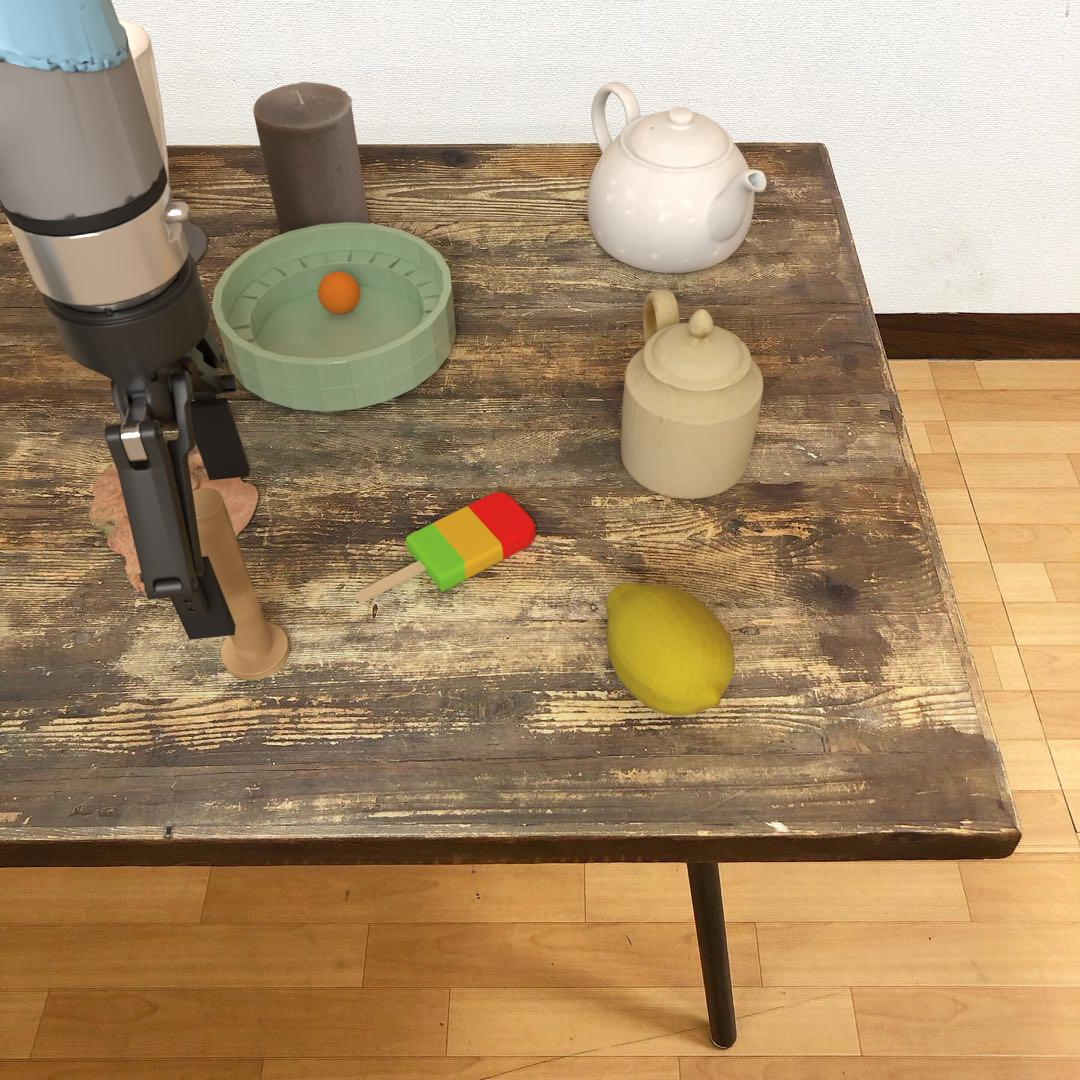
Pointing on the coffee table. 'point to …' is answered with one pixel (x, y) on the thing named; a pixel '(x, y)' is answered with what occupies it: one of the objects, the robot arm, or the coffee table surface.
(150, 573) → the robot arm
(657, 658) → the lemon
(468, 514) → the popsicle
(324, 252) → the bowl
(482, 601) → the coffee table surface
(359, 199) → the pillar candle
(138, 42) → the cup
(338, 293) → the ball
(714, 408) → the sugar bowl
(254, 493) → the clay slab
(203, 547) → the stick
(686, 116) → the teapot
